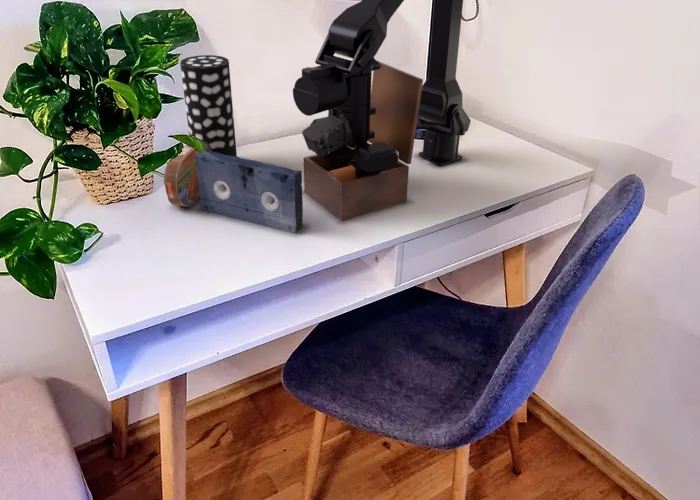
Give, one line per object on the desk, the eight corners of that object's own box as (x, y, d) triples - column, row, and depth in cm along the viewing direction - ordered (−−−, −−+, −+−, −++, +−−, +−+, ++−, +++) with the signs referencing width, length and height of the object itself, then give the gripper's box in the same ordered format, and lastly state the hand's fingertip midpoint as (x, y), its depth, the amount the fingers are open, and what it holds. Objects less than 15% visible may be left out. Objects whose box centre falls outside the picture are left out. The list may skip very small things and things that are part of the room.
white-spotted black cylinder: (184, 171, 118) (170, 64, 107) (209, 155, 124) (198, 53, 114) (222, 179, 115) (211, 70, 104) (245, 162, 122) (237, 58, 111)
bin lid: (419, 79, 98) (423, 79, 98) (374, 60, 106) (377, 60, 107) (407, 164, 105) (410, 163, 105) (365, 140, 113) (369, 140, 114)
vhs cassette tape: (304, 227, 100) (302, 170, 95) (294, 235, 98) (292, 177, 93) (210, 202, 107) (204, 148, 102) (200, 209, 105) (193, 154, 100)
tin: (183, 215, 103) (176, 168, 98) (165, 213, 103) (157, 167, 99) (217, 177, 115) (213, 134, 111) (201, 176, 116) (196, 133, 112)
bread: (361, 182, 113) (362, 156, 110) (378, 194, 109) (379, 167, 106) (323, 193, 109) (323, 166, 106) (339, 205, 105) (340, 178, 102)
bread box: (341, 221, 102) (341, 184, 99) (304, 192, 111) (303, 157, 107) (406, 201, 108) (409, 166, 105) (366, 175, 117) (367, 142, 114)
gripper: (281, 92, 103) (284, 178, 111) (341, 128, 90) (340, 222, 98) (338, 82, 108) (337, 165, 116) (403, 114, 95) (397, 205, 103)
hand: (351, 188), depth 108 cm, fingers closed on bread, 5 cm apart
